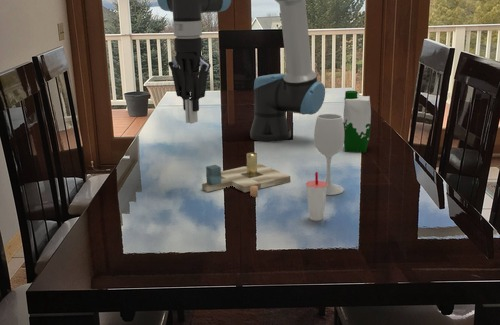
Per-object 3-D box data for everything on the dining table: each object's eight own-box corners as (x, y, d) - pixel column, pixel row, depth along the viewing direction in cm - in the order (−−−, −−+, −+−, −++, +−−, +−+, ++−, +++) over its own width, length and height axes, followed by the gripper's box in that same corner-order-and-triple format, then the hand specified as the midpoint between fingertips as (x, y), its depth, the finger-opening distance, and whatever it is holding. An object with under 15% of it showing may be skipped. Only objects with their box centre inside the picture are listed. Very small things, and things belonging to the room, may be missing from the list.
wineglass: (346, 186, 174) (348, 113, 168) (340, 196, 166) (342, 120, 160) (316, 183, 177) (317, 112, 171) (309, 193, 169) (310, 118, 163)
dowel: (249, 195, 168) (248, 186, 168) (255, 194, 170) (254, 185, 169) (253, 197, 167) (252, 188, 166) (259, 196, 168) (259, 187, 167)
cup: (311, 223, 149) (312, 176, 145) (301, 216, 153) (301, 170, 150) (331, 220, 151) (332, 173, 147) (320, 212, 155) (321, 167, 152)
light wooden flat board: (191, 183, 179) (190, 162, 177) (259, 168, 192) (258, 148, 190) (219, 198, 166) (219, 175, 164) (290, 181, 179) (290, 160, 177)
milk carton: (343, 145, 216) (344, 89, 210) (369, 146, 214) (371, 89, 208) (341, 152, 208) (343, 93, 202) (369, 153, 206) (371, 94, 200)
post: (245, 179, 182) (244, 153, 179) (253, 177, 183) (253, 152, 181) (250, 182, 179) (250, 156, 177) (259, 180, 181) (258, 154, 178)
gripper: (159, 37, 167) (164, 122, 174) (200, 39, 160) (203, 127, 167) (176, 34, 173) (180, 117, 180) (216, 36, 166) (219, 122, 173)
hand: (191, 122), depth 173 cm, fingers closed
